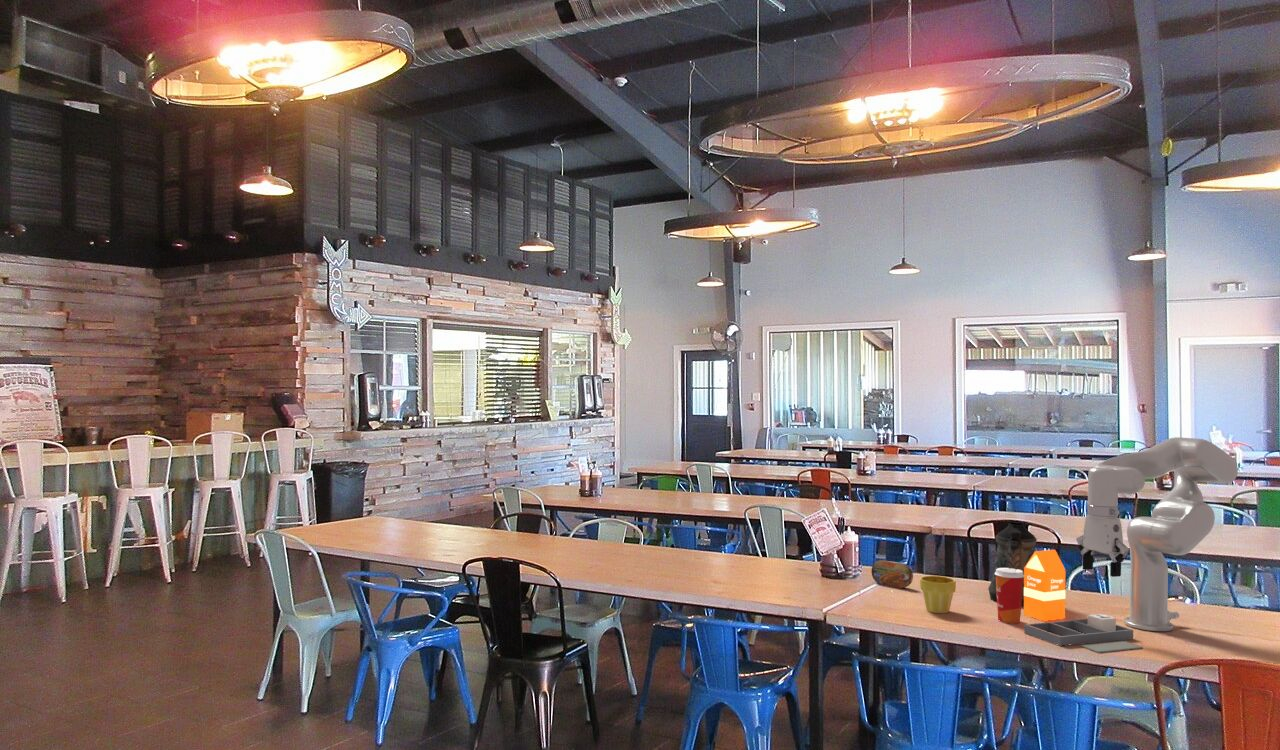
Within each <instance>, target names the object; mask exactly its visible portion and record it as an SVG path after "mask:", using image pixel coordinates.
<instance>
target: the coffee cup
mask: <svg viewBox="0 0 1280 750" xmlns="http://www.w3.org/2000/svg"><path fill="white" fill-rule="evenodd" d="M1015 570H1016V569H1013V568H1011V569H1010V568H997V569H996V572H995V575H996V591H997V602H996V606H997V619H998V621H999V620H1000V621H1002V622H1001V623H1003V622H1006V623H1005V624H1010V623H1017V624H1019V622H1020V623H1021V616H1022V615H1021V614H1022V606H1021V602H1022V588H1023V577H1025V576H1024V575H1023V571H1022V570H1019V569H1017V570H1016V571H1015ZM1000 621H999V622H1000Z"/></svg>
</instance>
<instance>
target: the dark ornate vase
mask: <svg viewBox="0 0 1280 750" xmlns="http://www.w3.org/2000/svg"><path fill="white" fill-rule="evenodd" d="M1037 541H1038V539H1037V537H1036V536H1035V535H1034V534H1033V533H1032V532H1031V531H1030V530H1028V529H1027V528H1026V527H1025V525H1024V523H1022V522H1009V523H1008V525H1007V526H1006V527H1005V528H1004V529H1002V530H1001V531H999V532H998V533H996V535H995V542H996V543H997V548H996V553H995V559H994V568H993V573H992V577H991V581H990V584H989V586H988V589H987V590H988V593H989V598H990V600H991V601H992V602H994V603H997V591H996V575H995V572H996V569H997V568H1010V569H1011V568H1013V569H1016V570H1017V569H1019V570H1022V571H1023V575H1024V567H1025V566H1026V565H1027V563H1028V562H1029V560H1030V559H1031V557H1032V556H1033V554H1034V553H1035V551H1036V549H1035V547H1036V544H1037ZM1016 570H1015V571H1016ZM1021 607H1024V577H1023V588H1022V602H1021Z"/></svg>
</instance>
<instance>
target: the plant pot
mask: <svg viewBox="0 0 1280 750" xmlns="http://www.w3.org/2000/svg"><path fill="white" fill-rule="evenodd" d="M956 582H957V581H956V579H954V578H951V577H948V576H941V575H924V576H921V577H920V578H919V586H920V587H919V588H920V590H921V591H922V594H923V599H924V604H925V608H926V609H925V610H926V611H927V612H929V613H933V614H947V613H950V609H951V605H952V602H953V601H952V600H953V597H954V596H953V595H954V593H955V592H956V591H957V590H956V589H957V587H956V586H957V585H956Z"/></svg>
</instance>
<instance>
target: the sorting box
mask: <svg viewBox="0 0 1280 750" xmlns="http://www.w3.org/2000/svg"><path fill="white" fill-rule="evenodd" d="M1087 621H1088V618H1082V619H1080V618H1079V619H1069V620H1059V621H1057V620H1055V621H1044V622H1035V623H1025V624H1024V634H1025V633H1027V634H1026V635H1028V634H1029V636H1031V635H1033V636H1035V637H1034V638H1036V637H1038V638H1037V639H1039V638H1041V639H1040V640H1042V639H1044V640H1046V641H1045V642H1047V641H1049V642H1048V643H1050V642H1052V643H1055V644H1058V645H1060V646H1059V647H1063V646H1062V645H1069V644H1079V645H1083V644H1082V643H1089V644H1095V643H1094V642H1099V643H1107V642H1106V641H1109V642H1117V641H1116V640H1119V641H1127V639H1129V640H1133V639H1134V630H1133V629H1131V628H1128V627H1124V626H1122V625H1118V624H1116V631H1110V632H1108V631H1105V630H1102V629H1099V628H1095V627H1092V626H1089V625H1087ZM1073 629H1074V630H1073ZM1076 630H1077V631H1076ZM1047 631H1051V632H1047ZM1078 631H1080V632H1078ZM1052 632H1053V633H1052ZM1081 632H1083V633H1081ZM1055 633H1056V634H1055ZM1084 633H1086V634H1084ZM1058 634H1059V635H1058ZM1061 635H1062V636H1061ZM1033 636H1032V637H1033ZM1044 640H1043V641H1044ZM1052 643H1051V644H1052ZM1055 644H1054V645H1055ZM1058 645H1057V646H1058ZM1069 646H1070V645H1069Z"/></svg>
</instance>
